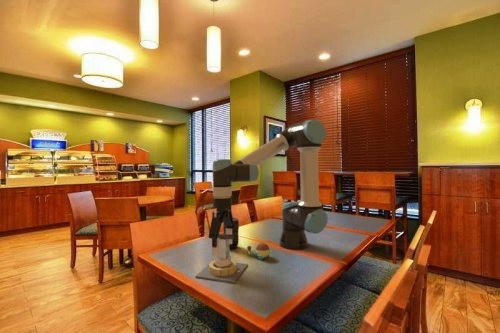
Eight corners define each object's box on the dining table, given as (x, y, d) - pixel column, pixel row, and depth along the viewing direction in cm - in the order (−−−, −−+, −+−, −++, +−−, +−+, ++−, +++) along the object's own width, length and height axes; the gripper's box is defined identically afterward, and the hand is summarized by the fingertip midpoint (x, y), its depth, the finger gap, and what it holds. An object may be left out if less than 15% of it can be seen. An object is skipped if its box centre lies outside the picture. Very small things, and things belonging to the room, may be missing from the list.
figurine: (259, 254, 116) (257, 241, 117) (273, 256, 109) (271, 241, 110) (247, 259, 111) (245, 244, 112) (262, 261, 104) (259, 246, 105)
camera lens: (236, 250, 119) (236, 221, 119) (221, 249, 120) (221, 220, 120) (240, 245, 127) (240, 217, 127) (226, 244, 128) (225, 217, 128)
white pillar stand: (216, 265, 100) (216, 231, 100) (236, 267, 97) (236, 233, 97) (209, 271, 94) (209, 235, 94) (230, 274, 91) (230, 237, 91)
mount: (247, 265, 101) (247, 258, 101) (234, 283, 86) (234, 275, 86) (213, 261, 106) (213, 254, 106) (195, 277, 90) (195, 269, 90)
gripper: (225, 193, 109) (226, 239, 109) (198, 201, 85) (199, 259, 85) (241, 193, 106) (241, 240, 106) (217, 201, 83) (218, 262, 83)
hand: (222, 249), depth 96 cm, fingers open, 13 cm apart
